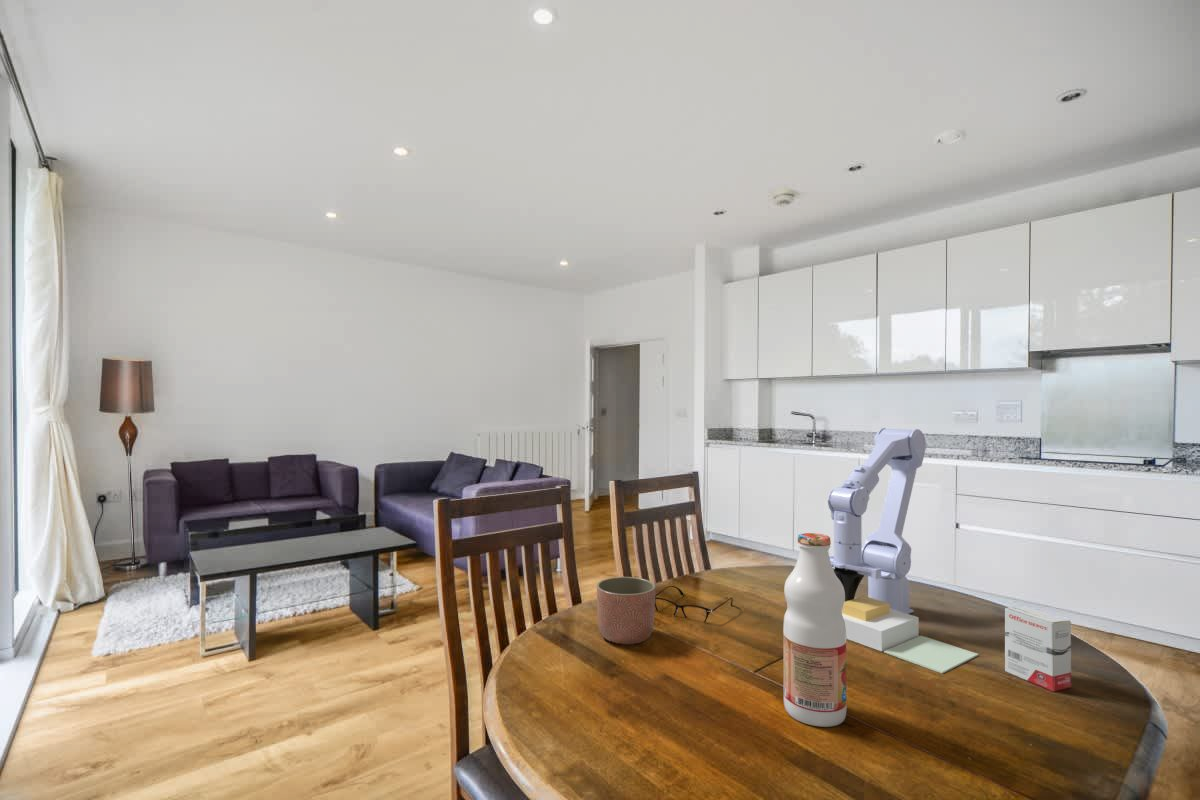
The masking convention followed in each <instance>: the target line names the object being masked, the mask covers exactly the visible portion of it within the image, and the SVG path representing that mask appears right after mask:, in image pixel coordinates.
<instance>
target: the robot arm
mask: <svg viewBox="0 0 1200 800" xmlns="http://www.w3.org/2000/svg"><path fill="white" fill-rule="evenodd" d="M873 444H874V447H873V449H872V450H871V452H870V454H869V455H868V457H867V459H866V461H865V462H864V463H863V465H862V464H861V465H857V466H855V468H853V470H852V472H851V473H850V475H848V477H847V478H846V479H845V481H844V482H843V483H842V484H841V486H838V487H835V488H833V489H832V490H831V491H830V493H829V496H828V499H827V504H828V509H829V511H830V518H831V520H833V555H829V558H830V561H831V565H832V568H833V570H834V573H835V575H836V576H837V577H838V579H839V580H840V581H841V583H842V585H843V587H844V590H845V602H846V601H849V600H852V599H854V598H856V597H855V596H856V593H857V589H858V587H859V585H860V583H861V581H862V580H863V578H864V577H865V576H867V583H868V584H867V587H868V589H867V590H868V591H867V593H868V594H867V597H869V598H873V599H876V600H880V601H883V602H886V603H890V609H893V610H896V611H899V612H903V613H906V614H909V615H910V614H912V613H914V609H912V608H910V607H911V605H910V600H911V599H910V598H911V597H910V582H909V580H908V578H907V577H906V576H907V574H908V573H909V572H910V569H911V568H912V567H911V566H912V560H911V559H912V557H911V554H912V547H911V546H910V544H909V543H908V542H907V540H906V539H904V537H903V536H902V535H903V532H904V531H903V530H904V528H905V522H906V518H907V514H908V509H909V504H910V501H911V496H912V492H913V488H914V487H913V486H914V483H915V479H916V474H917V469H919V468H920V467H922V466H923V462H924V457H925V453H926V450H927V449H926V448H927V443H926V437H925V434H924V433H923V431H922V430H921V429H918V428H915V429H914V428H913V429H902V428H901V429H898V428H886V427H882V428H879V430H878V431H877V432H876V433H875V435H874V439H873ZM887 465H888V466H889V467H890V468H891V475H890V479H889V482H888V487H887V492H886V495H885V501H884V504H883V508H882V512H881V515H880V516H881V517H880V521H879V525H878V528H877V530H875V531H874V532H872V533H870V534H869V535H867V536H866V537H865V541H864V544H863V545H862V542H863V541H862V539H863V535H862V530H863V529H862V520H863V519H862V515H864V513H866V511H867V509H868V504H869V501H870V494H871V493H872V492H873V491H874V489H875V488H876V487H877V485H878V483H879V482H880V476H879V473H880V472H881V471H882V470H883V469H884V468H885V467H886V466H887Z"/></svg>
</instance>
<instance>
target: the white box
mask: <svg viewBox="0 0 1200 800" xmlns="http://www.w3.org/2000/svg"><path fill="white" fill-rule="evenodd" d="M855 598H856V597H854V599H855ZM842 616H843V619H844V621H845V626H846V640H849V641H851V642H855V643H857V644H859V645H862V646H865V647H868V648H870V649H874V650H877V651H879V652H884V651H885V650H887V649H890V648H892V647H895V646H897V645H899V644H902V643H904V642H907V641H909V640H911V639H914V638H916V637H919V636H920V635H919V634H920V633H919V632H920V631H919V628H920V627H919V622H920V621H919V617H918V616H915V615H912V614H910V613H909V614H906V613H903V612H899V611H896V610H893V609H890V613H887V614H884V615H882V616H879V617H876V618H873V619H870V620H868V621H864V620H861V619H857V618H854V617H851V616H848V615H845V614H842Z"/></svg>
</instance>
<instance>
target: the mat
mask: <svg viewBox="0 0 1200 800" xmlns="http://www.w3.org/2000/svg"><path fill="white" fill-rule="evenodd" d="M883 653H885V654H887V655H890V656H893V657H895V658H899V659H900V660H901V659H902V661H903V660H904V661H906V662H910V663H912V664H915V665H918V666H921V667H923V668H925V669H929V670H931V671H934V672H937V673H940V674H944V673H946V672H949V671H951V670H952V669H954V668H956V667H958V666H961V665H963V664H965V663H967V662H968V661H970V660H972V659H974V658H976V657H978V656H979V653H976V652H974V651H970V650H967V649H964V648H960V647H957V646H954V645H951V644H949V643H946V642H942V641H939V640H937V639H934V638H930V637H927V636H925V635H924V636H923V635H919V636H918V637H915V638H913V639H911V640H908V641H906V642H903V643H901V644H899V645H896V646H894V647H891V648H889V649H886V650H884V651H883Z"/></svg>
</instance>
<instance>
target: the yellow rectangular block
mask: <svg viewBox="0 0 1200 800" xmlns="http://www.w3.org/2000/svg"><path fill="white" fill-rule="evenodd" d="M854 598H855V599H852V600H849V601H846V602H844V606H843V609H842V614H845V615H848V616H851V617H854V618H857V619H861V620H864V621H868V620H870V619H873V618H876V617H879V616H882V615H884V614H887V613H890V603H886V602H883V601H880V600H876V599H873V598H869V597H868V596H865V595H862V596H859V597H854Z"/></svg>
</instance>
